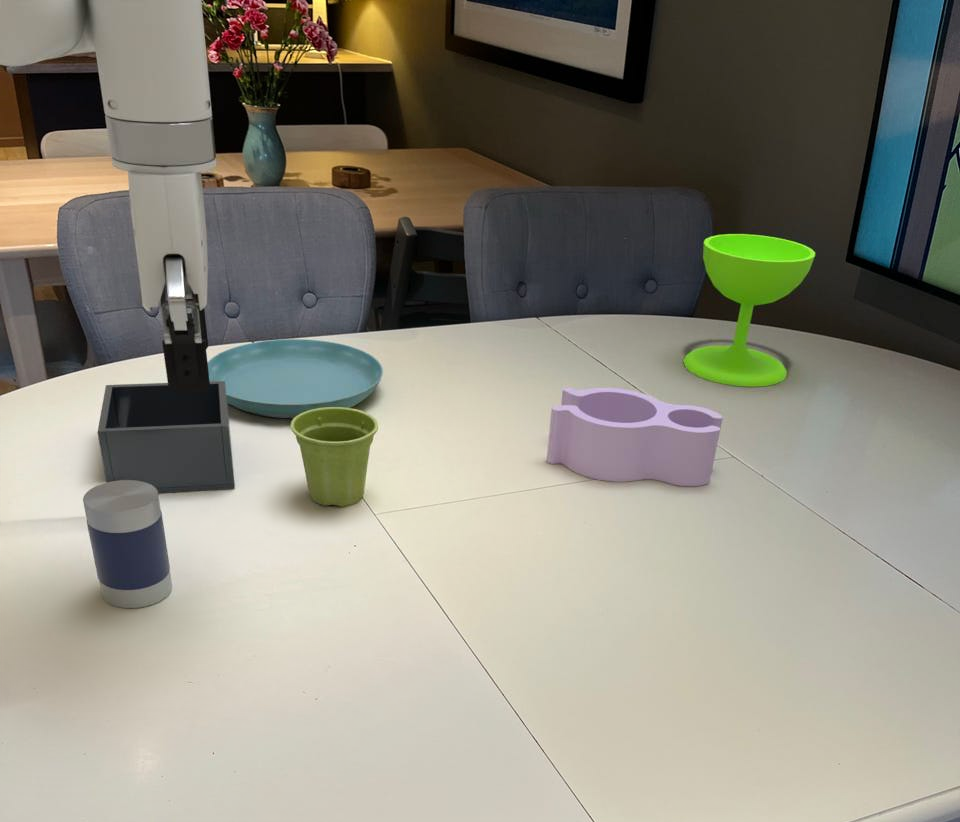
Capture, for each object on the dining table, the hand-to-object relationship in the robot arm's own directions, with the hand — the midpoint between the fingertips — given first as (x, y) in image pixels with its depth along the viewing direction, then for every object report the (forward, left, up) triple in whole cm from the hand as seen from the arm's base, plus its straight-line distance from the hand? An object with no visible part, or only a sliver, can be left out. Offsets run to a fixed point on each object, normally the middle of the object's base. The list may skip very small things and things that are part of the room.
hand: (189, 368), depth 83 cm
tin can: (-7, +1, -22) cm, 23 cm away
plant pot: (+14, +18, -22) cm, 31 cm away
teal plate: (+12, +50, -22) cm, 55 cm away
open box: (-4, +28, -22) cm, 35 cm away
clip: (+51, +22, -22) cm, 59 cm away
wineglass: (+80, +53, -22) cm, 98 cm away
